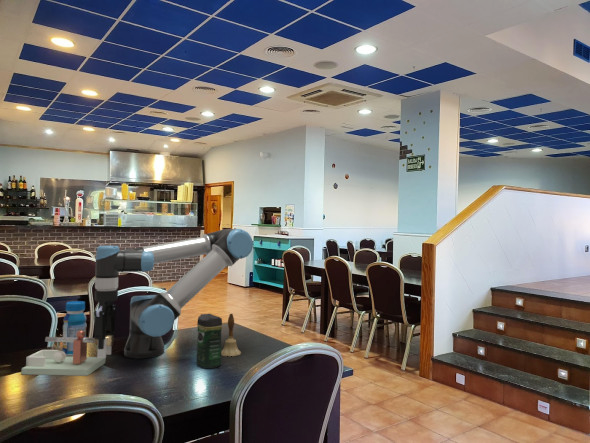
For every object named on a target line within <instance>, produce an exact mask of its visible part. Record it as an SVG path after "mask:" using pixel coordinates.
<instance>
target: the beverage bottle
mask: <svg viewBox="0 0 590 443" xmlns="http://www.w3.org/2000/svg"><path fill="white" fill-rule="evenodd" d="M85 309H86V301H83V300H82V301H81V300H73V301H67V302H66V303H65V312H66V313H65V315H64V317H63V319H62V320H63V325H62V333H63V334H62V337H72V338H78V337H77V336H76V334H77V332H78V331H80V330H83V331H84V332H85V336H84V337H87V327H88V326H87V322H86V321H87V315H86V314H85V313H84V311H85ZM73 345H74V342H62V349H61V351H63V352H65V354H66V357H73Z"/></svg>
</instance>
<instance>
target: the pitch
mask: <svg viewBox="0 0 590 443" xmlns="http://www.w3.org/2000/svg"><path fill="white" fill-rule="evenodd" d="M57 351H60V350H59V349H41V350H39V351H37V352H35V353H32V354H30V355H28V356H26V359H25V360H26V361H25V366H24V367H21V374H20V375H30V376H31V375H34V376H35V375H37V376H38V375H39V376H82V377H83V376H85V377H87V376H89V375H90V374H92V373H93V372H95V371H96V370H97V369H99V368H100V367H102V366H103V365H104V364H106V358H97V356H87V359H86V360H85V361H83V362H82V363H80V364H73V356H66V358H65V360H64V361H63V362H60V363H57V362H55V361H54V360H53V355H54V354H55V353H56V352H57Z"/></svg>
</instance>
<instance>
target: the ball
mask: <svg viewBox="0 0 590 443" xmlns="http://www.w3.org/2000/svg"><path fill="white" fill-rule="evenodd" d="M66 357H67V356H66V354H65V352H63V351H62V350H59V351H57V352H56V353H55V354H54V355H53V360H54V361H55V362H57V363H60V362H63V361H64V360H65V358H66Z"/></svg>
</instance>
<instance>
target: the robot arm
mask: <svg viewBox="0 0 590 443" xmlns="http://www.w3.org/2000/svg"><path fill="white" fill-rule="evenodd" d="M253 248H254V241H253V238H252V236H251V234H250V233H249V232H248V231H246V230H244V229H241V228H224V229H220V230H217V231H213V232H208V233H204V234H202V236H199V237H193V238H188V239H181V240H177V241H171V242H165V243H158V244H153V245H147V246H141V247H137V248H125V249H124V250H120V246H119V245H99V246H97V248H96V250H95V251H96V252H95V253H96V254H95V271H94V272H95V278H94V280H93V282H94V288H95V291H94V301H95V302H98V307H97V310H94V312H93V315H94V338H95V339H96V340H98V346H97V352H96V353H97V356H96V357H97V358H105V359H106V358H107V355H112V346H106V342H107V339H105V337H106V335H113V336H115V334H116V332H115V331H116V329H115V328H116V317H117V316H116V315H117V313H116V312H117V307H118V305H117V304H114V302H116V301H117V300H118V299H119V298H118V296H119V290H118V288H119V273H128V272H129V273H131V272H133V273H137V272H138V273H139V272H140V273H141V272H142V273H144V272H151V271H153V269H154V266H155V264H161V263H166V262H171V261H176V260H183V259H186V258H187V259H189V258H194V257H198V256H204V257H202V259H200V261H198V263H196V264H195V265H194V266H193V267H192V268H191V269H190V270H189V271H187V272H186V273H185V274H184V275H183V276H182V277H181V278H180V279H179V280H178V281H177V282H175V283H174V284H173V285H172V286H171V287H170V288H169V289H168V290H167V291H165V292H158V293H157V294H149V295H147V294H146V295H134V296H132V297H131V298H130V303H129V306H130V307H129V309H130V310H129V333H128V334H129V335H128V338H127V341H126V343H125V346H124V350H123V351H124V352H123V355H124V357H126V358H129V359H150V358H151V359H152V358H156V357H159V356H162V355H163V354H164V353H165V344H164V340H163V338H162V336H164V335H166V334H167V333H169V332H170V331H171V330H172V328H173V327H174V324H175V321H176V320H177V319H178V318H179V317H180V316H181V315H182V308H183V307H185V306H186V305H187V304H188V303H189V302H190V301H191V300H192V299H193V298H194V297H195V296H196V295H197V294H199V293H200V291H202V290H203V289H204V288H206V286H207V285H208V284H209V283H210V282H211V281H212V280H214V279H215V278H216V277H217V276H218V274H220V273H221V271H223V270H224V269H225V268H226V267H233V265H235V263H236V262H238V261H239V260H240V259H241V260H242V259H244V258H246V257H248V256H249V255H250V254H251V252H252V251H253Z"/></svg>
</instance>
